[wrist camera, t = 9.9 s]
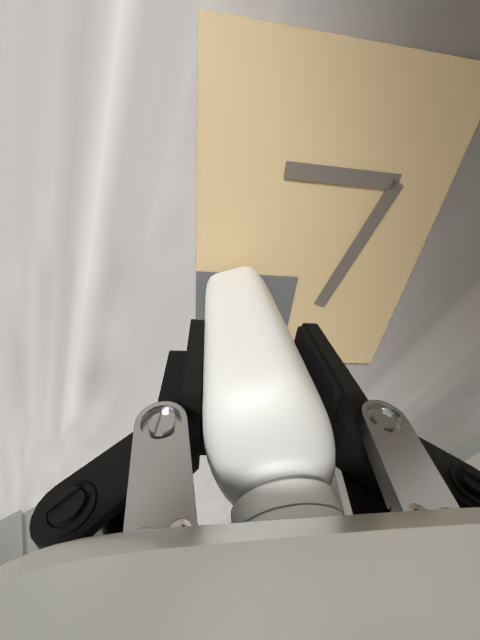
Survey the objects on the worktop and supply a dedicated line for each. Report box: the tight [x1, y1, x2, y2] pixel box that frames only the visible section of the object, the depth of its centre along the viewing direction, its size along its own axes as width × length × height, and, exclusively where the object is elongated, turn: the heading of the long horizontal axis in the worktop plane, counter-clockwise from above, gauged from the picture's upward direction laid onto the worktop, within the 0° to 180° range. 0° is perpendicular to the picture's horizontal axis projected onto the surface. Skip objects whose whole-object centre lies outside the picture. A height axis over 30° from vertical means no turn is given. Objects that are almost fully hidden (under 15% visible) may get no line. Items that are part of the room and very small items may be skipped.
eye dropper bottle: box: [202, 266, 344, 523], centre depth 8 cm, size 4×6×12 cm
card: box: [196, 9, 480, 364], centre depth 12 cm, size 14×11×1 cm
